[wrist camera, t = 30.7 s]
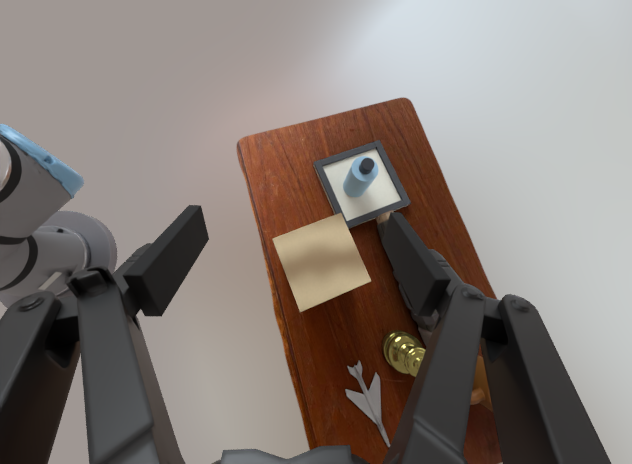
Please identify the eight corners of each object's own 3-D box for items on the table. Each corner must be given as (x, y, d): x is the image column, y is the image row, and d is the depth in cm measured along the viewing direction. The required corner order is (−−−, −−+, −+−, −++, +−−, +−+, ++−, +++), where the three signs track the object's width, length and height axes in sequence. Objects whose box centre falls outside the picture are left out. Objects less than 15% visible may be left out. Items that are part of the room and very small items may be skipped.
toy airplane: (371, 455, 44) (375, 465, 42) (328, 350, 48) (329, 354, 45) (405, 435, 45) (410, 443, 43) (360, 334, 49) (363, 337, 46)
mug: (433, 399, 47) (469, 431, 37) (425, 357, 49) (457, 377, 39) (489, 389, 48) (538, 417, 39) (480, 348, 50) (524, 365, 40)
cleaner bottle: (339, 180, 54) (349, 155, 44) (359, 172, 55) (374, 147, 44) (348, 200, 54) (361, 181, 43) (369, 192, 54) (386, 171, 44)
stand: (280, 250, 51) (272, 238, 35) (328, 232, 53) (341, 212, 37) (299, 301, 49) (300, 312, 34) (349, 280, 51) (371, 281, 35)
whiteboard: (313, 165, 56) (313, 161, 54) (377, 143, 59) (379, 139, 57) (341, 231, 53) (343, 229, 51) (407, 205, 56) (411, 203, 54)
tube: (390, 217, 58) (453, 336, 49) (365, 228, 58) (424, 347, 50) (396, 202, 47) (477, 350, 39) (366, 215, 48) (440, 364, 39)
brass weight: (376, 358, 48) (395, 378, 38) (386, 323, 50) (408, 335, 40) (408, 371, 48) (436, 395, 38) (417, 336, 50) (447, 351, 40)
